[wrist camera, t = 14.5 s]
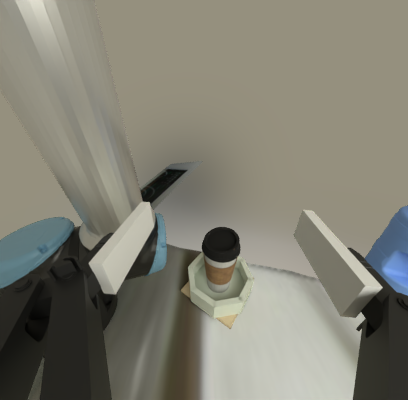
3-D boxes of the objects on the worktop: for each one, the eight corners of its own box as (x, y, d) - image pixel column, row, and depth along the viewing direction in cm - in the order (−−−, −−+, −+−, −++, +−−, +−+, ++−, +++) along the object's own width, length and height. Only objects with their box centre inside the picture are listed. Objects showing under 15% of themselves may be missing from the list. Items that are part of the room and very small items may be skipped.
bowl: (177, 292, 41) (175, 279, 38) (210, 253, 52) (210, 242, 49) (231, 334, 33) (234, 322, 31) (257, 279, 44) (260, 266, 42)
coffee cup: (241, 281, 42) (249, 237, 34) (220, 306, 36) (225, 260, 29) (216, 262, 47) (218, 221, 39) (195, 282, 41) (193, 238, 34)
